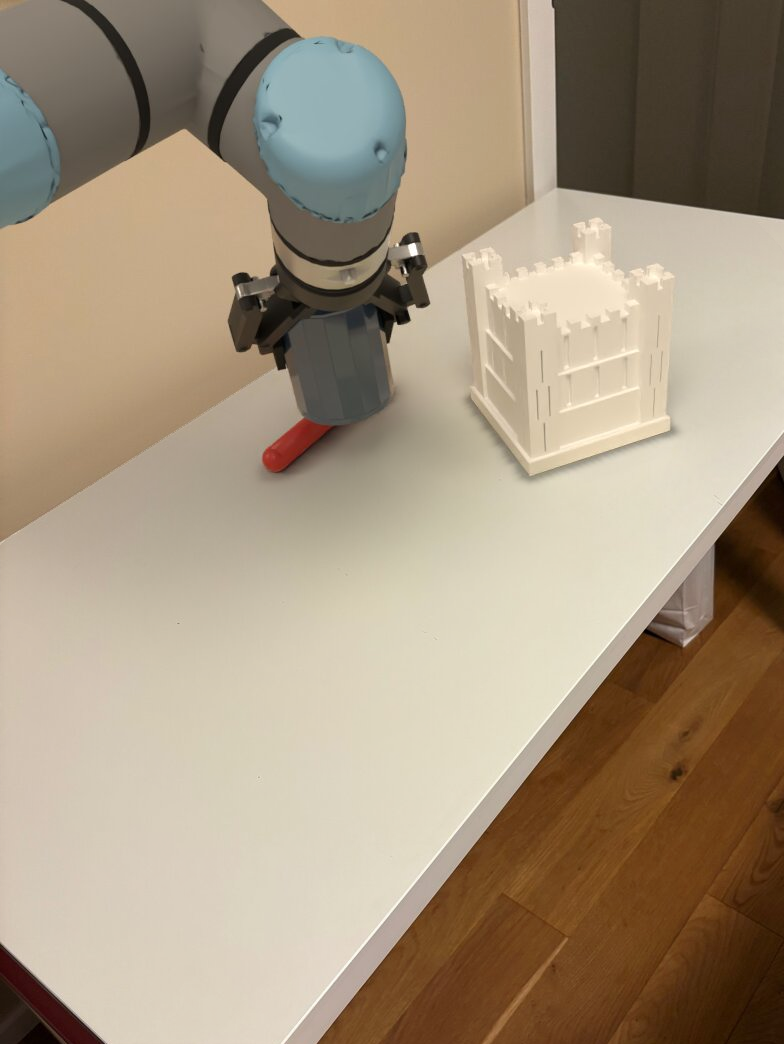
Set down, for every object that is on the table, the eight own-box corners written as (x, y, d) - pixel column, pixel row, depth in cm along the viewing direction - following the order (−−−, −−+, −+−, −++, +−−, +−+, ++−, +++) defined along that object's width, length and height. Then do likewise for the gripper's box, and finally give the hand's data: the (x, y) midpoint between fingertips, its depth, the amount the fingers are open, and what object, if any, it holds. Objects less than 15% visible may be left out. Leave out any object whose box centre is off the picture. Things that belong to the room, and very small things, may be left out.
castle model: (471, 398, 95) (456, 254, 84) (598, 359, 97) (600, 214, 87) (529, 476, 85) (521, 324, 74) (669, 430, 87) (681, 277, 77)
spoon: (289, 483, 88) (284, 462, 86) (250, 469, 90) (243, 448, 88) (397, 388, 97) (393, 368, 95) (358, 377, 99) (354, 357, 98)
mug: (404, 410, 81) (387, 302, 74) (306, 435, 80) (279, 328, 73) (370, 339, 90) (351, 237, 83) (281, 361, 89) (255, 259, 82)
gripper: (182, 331, 59) (221, 413, 82) (505, 254, 62) (457, 354, 85) (149, 216, 59) (197, 329, 82) (474, 144, 62) (434, 273, 85)
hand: (329, 342), depth 83 cm, fingers closed on mug, 9 cm apart
